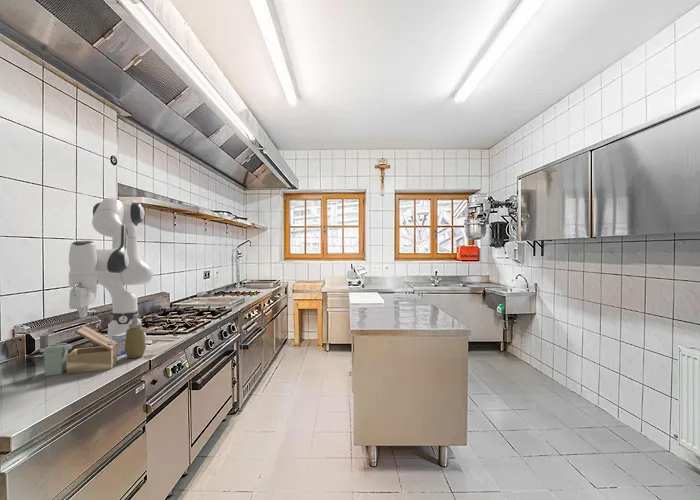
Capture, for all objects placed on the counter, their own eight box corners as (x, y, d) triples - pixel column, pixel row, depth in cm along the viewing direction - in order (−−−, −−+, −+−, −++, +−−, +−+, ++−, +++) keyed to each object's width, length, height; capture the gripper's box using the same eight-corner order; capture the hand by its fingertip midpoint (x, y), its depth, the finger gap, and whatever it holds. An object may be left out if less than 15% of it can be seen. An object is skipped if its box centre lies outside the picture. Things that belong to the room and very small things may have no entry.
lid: (82, 327, 141) (85, 324, 141) (116, 344, 145) (118, 341, 146) (74, 332, 131) (77, 329, 132) (110, 350, 136) (113, 347, 136)
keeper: (52, 369, 136) (51, 343, 136) (67, 368, 138) (67, 342, 137) (44, 375, 129) (44, 348, 129) (61, 373, 131) (61, 346, 131)
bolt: (43, 350, 133) (42, 334, 133) (72, 347, 136) (72, 332, 136) (40, 352, 130) (39, 336, 130) (69, 349, 134) (69, 333, 134)
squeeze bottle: (123, 360, 147) (123, 317, 147) (125, 355, 154) (125, 314, 154) (145, 357, 150) (145, 316, 150) (146, 352, 158) (146, 313, 158)
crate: (75, 366, 140) (75, 348, 140) (116, 361, 145) (116, 344, 145) (66, 374, 130) (66, 355, 130) (111, 369, 136) (111, 351, 136)
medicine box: (120, 355, 154) (120, 335, 154) (111, 355, 155) (111, 335, 155) (134, 350, 162) (134, 331, 161) (126, 350, 162) (126, 331, 162)
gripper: (85, 283, 128) (85, 321, 128) (99, 280, 147) (99, 312, 147) (63, 284, 126) (63, 322, 126) (81, 280, 145) (81, 313, 144)
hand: (83, 317), depth 136 cm, fingers closed
